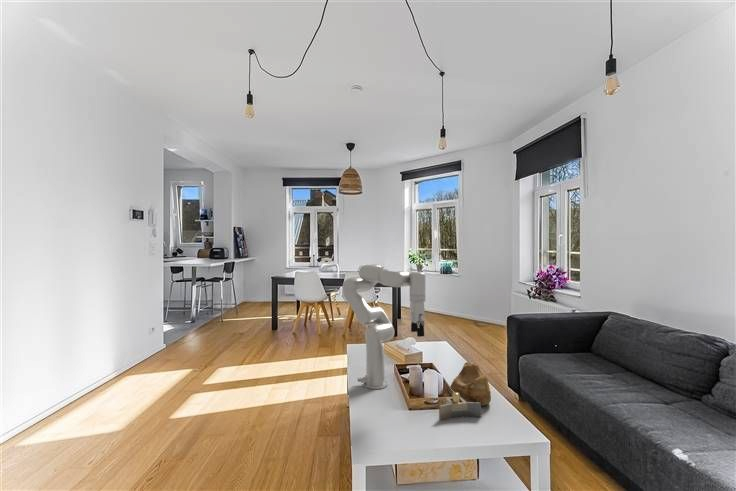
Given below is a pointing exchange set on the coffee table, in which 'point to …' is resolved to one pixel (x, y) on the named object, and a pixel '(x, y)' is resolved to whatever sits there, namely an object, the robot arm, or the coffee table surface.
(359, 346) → the coffee table surface
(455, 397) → the hinge pin
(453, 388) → the rough brown rock
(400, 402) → the coffee table surface
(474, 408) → the hinge
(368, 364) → the robot arm
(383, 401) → the coffee table surface
